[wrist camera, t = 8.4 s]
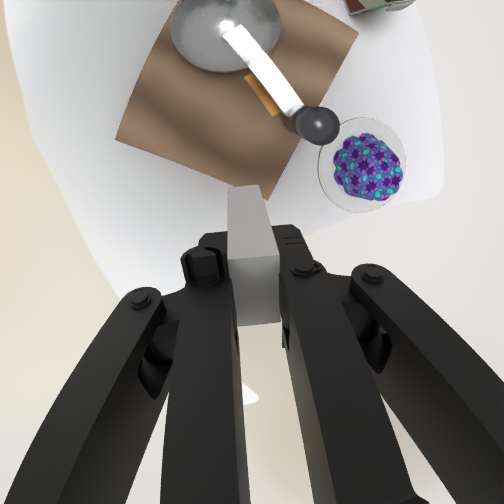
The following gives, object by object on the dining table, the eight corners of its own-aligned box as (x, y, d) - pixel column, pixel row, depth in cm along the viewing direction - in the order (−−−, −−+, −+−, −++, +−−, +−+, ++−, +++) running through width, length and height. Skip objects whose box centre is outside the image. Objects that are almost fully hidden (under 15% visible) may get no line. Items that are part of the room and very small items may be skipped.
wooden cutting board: (205, -30, 19) (203, -37, 17) (351, 35, 24) (359, 32, 22) (121, 137, 28) (114, 140, 26) (265, 194, 33) (267, 200, 31)
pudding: (327, 221, 35) (341, 241, 31) (305, 129, 30) (318, 134, 25) (406, 197, 34) (427, 212, 30) (395, 110, 28) (419, 114, 24)
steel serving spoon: (155, 25, 20) (130, 3, 13) (237, -27, 18) (241, -63, 11) (265, 157, 28) (277, 178, 21) (343, 106, 26) (380, 111, 19)
